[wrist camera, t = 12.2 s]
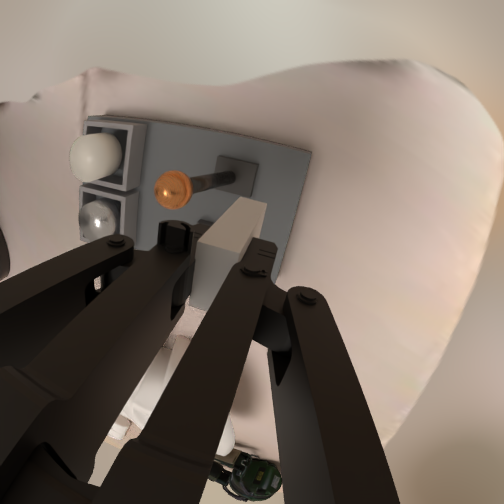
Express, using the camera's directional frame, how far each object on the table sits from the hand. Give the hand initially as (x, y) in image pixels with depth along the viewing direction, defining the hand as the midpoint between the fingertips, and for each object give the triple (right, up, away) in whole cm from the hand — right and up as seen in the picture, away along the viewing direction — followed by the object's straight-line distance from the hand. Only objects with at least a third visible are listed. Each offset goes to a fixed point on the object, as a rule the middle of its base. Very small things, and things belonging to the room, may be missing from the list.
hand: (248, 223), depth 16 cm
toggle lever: (-1, +5, +9) cm, 11 cm away
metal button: (-15, +2, +14) cm, 21 cm away
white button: (-14, +8, +9) cm, 19 cm away
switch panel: (-7, +5, +15) cm, 17 cm away
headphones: (-3, -45, +36) cm, 58 cm away
